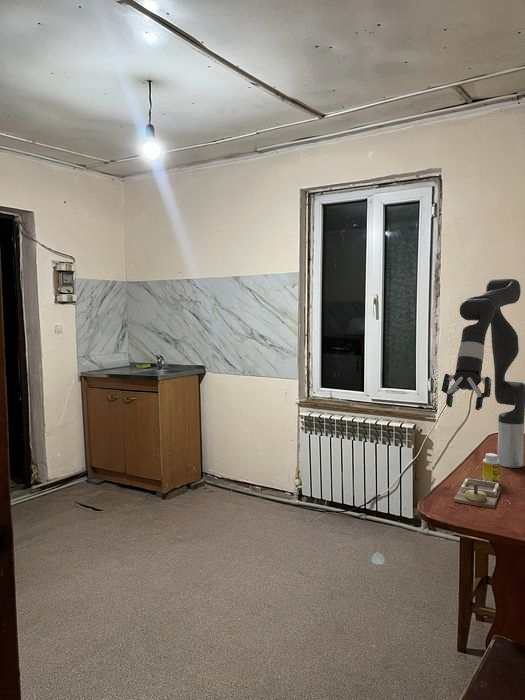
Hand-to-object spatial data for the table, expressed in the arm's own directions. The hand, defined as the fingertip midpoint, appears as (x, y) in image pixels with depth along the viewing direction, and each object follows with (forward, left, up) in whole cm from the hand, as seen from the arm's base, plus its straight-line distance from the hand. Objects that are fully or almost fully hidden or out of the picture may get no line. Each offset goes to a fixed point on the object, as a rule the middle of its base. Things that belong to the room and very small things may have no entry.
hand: (463, 408), depth 162 cm
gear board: (-9, +9, -31) cm, 34 cm away
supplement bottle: (-22, +19, -32) cm, 43 cm away
